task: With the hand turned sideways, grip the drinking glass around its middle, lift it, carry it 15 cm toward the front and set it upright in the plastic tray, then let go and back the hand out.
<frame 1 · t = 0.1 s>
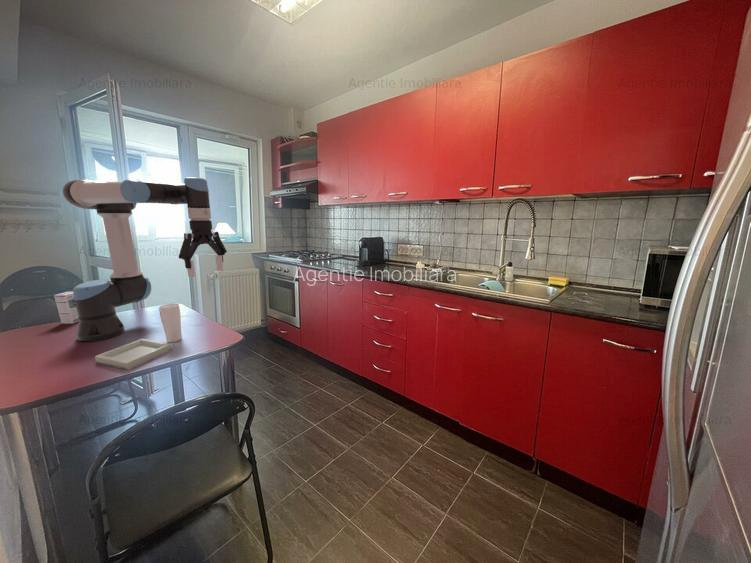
hand: (206, 273, 119), 28 cm above the table, tool pointing down, fingers open, 13 cm apart
tray: (136, 356, 109), on the table
syrup box: (73, 322, 144), on the table
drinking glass: (174, 340, 123), on the table
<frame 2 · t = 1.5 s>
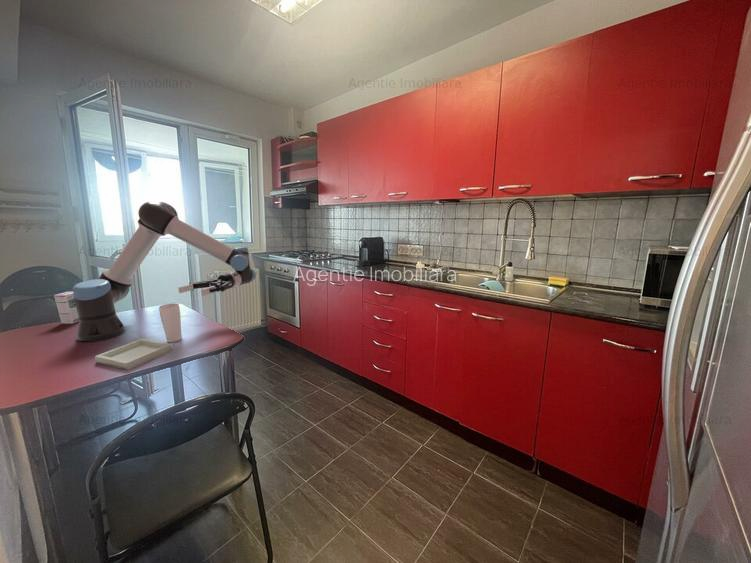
hand: (190, 291, 128), 18 cm above the table, tool horizontal, fingers open, 13 cm apart
nothing on the table moved.
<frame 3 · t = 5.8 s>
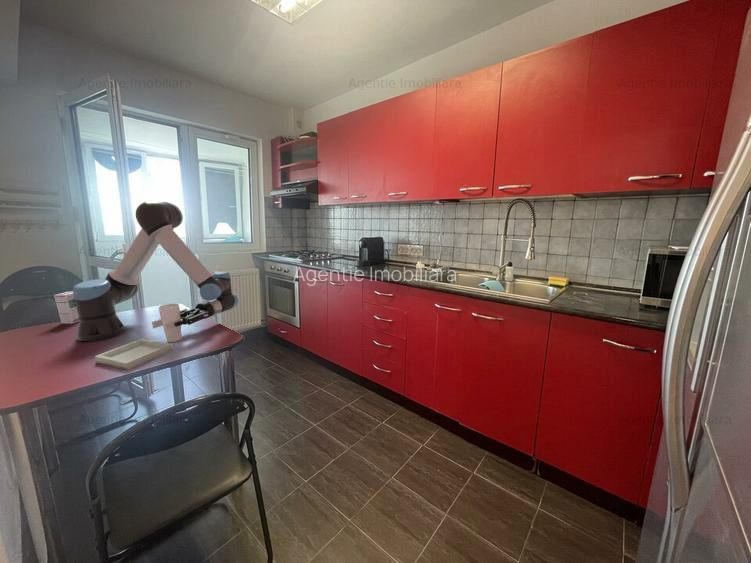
hand: (159, 326, 117), 8 cm above the table, tool horizontal, fingers closed on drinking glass, 6 cm apart
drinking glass: (174, 340, 123), on the table, touching gripper
everything else where it was.
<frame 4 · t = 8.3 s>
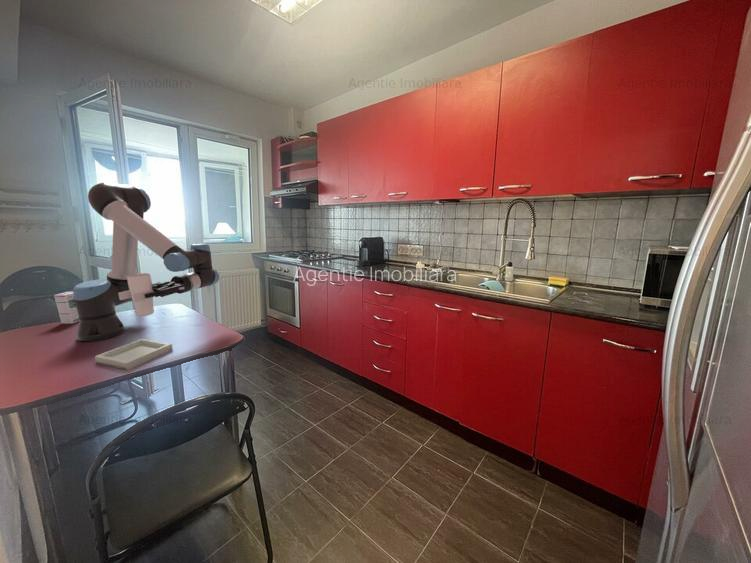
hand: (127, 297, 104), 23 cm above the table, tool horizontal, fingers closed on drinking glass, 6 cm apart
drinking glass: (145, 314, 110), point 15 cm above the table, touching gripper
everything else where it was.
when the fingers open (10 cm above the table, at t = 11.1 s): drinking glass drops 2 cm, resting on tray.
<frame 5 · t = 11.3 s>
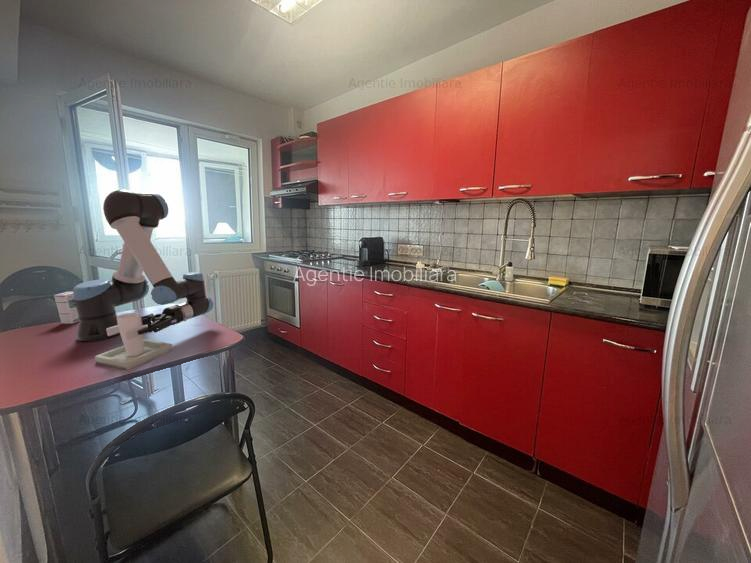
hand: (117, 334, 103), 10 cm above the table, tool horizontal, fingers open, 9 cm apart
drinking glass: (135, 354, 109), point 1 cm above the table, touching tray
everything else where it was.
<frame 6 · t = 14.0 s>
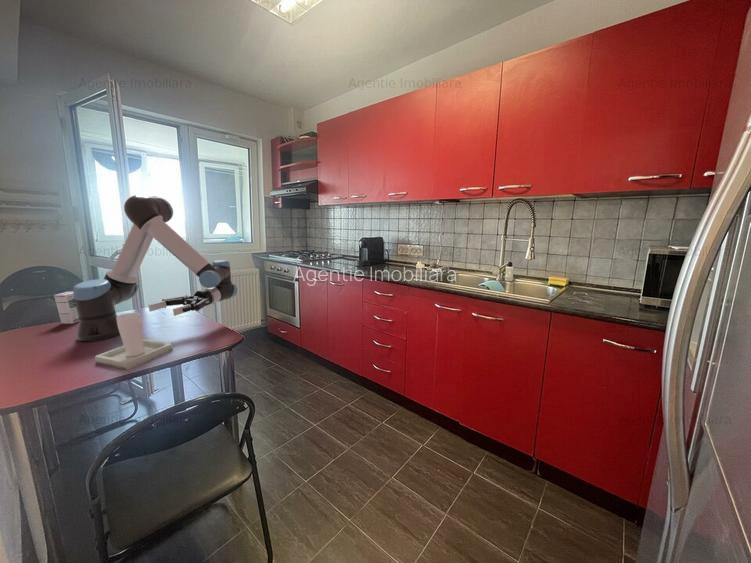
hand: (161, 310, 117), 14 cm above the table, tool horizontal, fingers open, 13 cm apart
nothing on the table moved.
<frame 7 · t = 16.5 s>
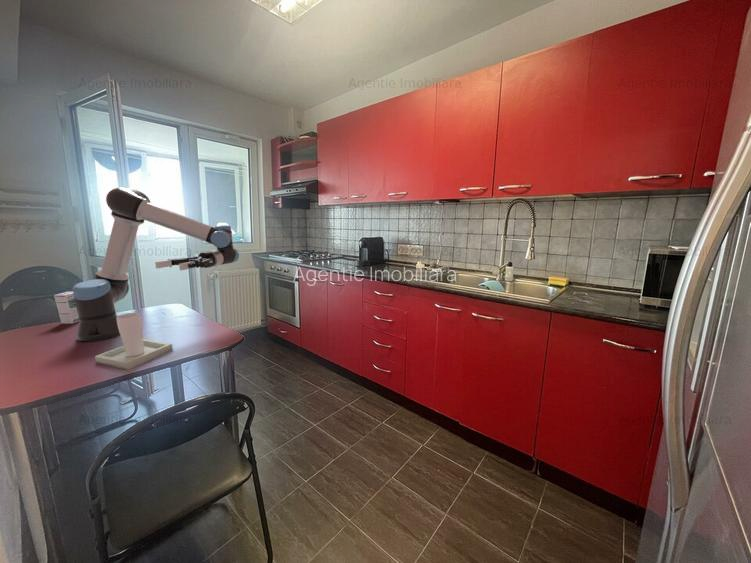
hand: (167, 266, 123), 30 cm above the table, tool horizontal, fingers open, 13 cm apart
nothing on the table moved.
at the end: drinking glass inside the target area on the tray (0.1 cm from its centre), point 0.6 cm above the tray's base; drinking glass tilted 0°; the gripper is holding nothing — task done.
